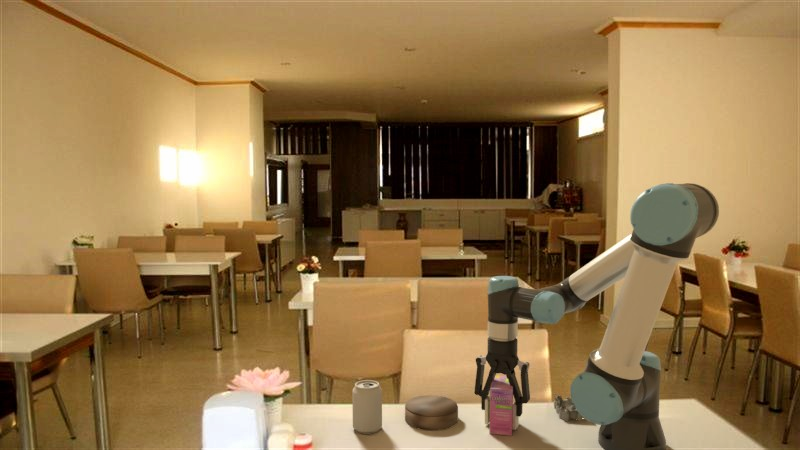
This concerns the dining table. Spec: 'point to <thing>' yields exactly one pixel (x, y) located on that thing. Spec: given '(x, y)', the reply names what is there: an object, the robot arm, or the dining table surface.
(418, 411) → the round lidded container
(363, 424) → the can
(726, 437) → the dining table surface
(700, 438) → the dining table surface
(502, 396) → the box
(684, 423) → the dining table surface
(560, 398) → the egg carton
